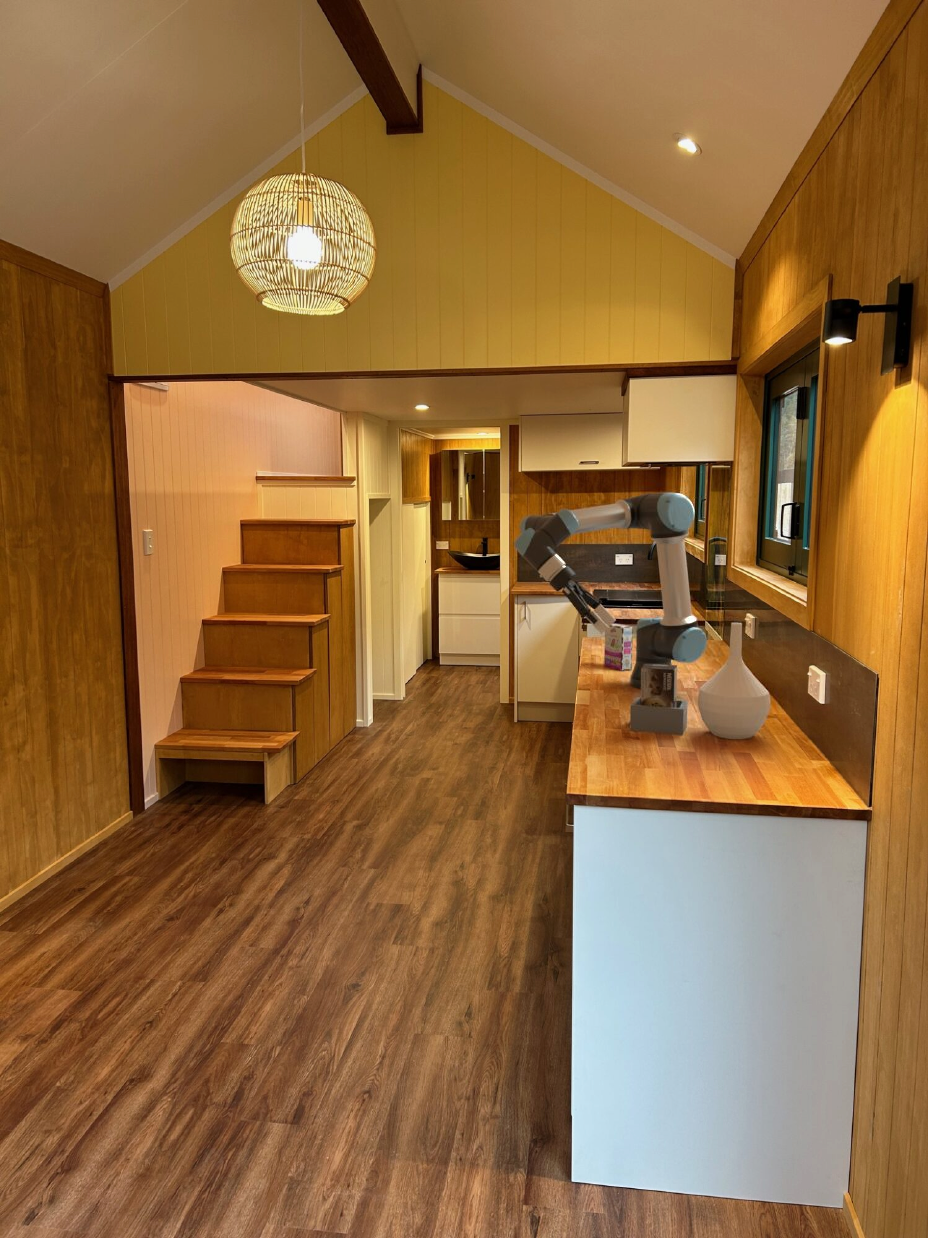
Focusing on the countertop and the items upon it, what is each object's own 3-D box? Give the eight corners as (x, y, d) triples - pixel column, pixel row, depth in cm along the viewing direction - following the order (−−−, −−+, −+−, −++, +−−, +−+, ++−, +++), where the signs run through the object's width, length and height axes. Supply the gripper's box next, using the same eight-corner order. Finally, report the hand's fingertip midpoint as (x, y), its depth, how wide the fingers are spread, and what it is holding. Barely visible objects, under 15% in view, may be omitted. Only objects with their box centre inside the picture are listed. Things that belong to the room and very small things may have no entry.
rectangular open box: (636, 721, 241) (636, 696, 240) (686, 725, 237) (687, 700, 236) (630, 730, 231) (630, 705, 230) (682, 735, 226) (683, 709, 226)
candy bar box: (632, 670, 316) (633, 626, 314) (621, 671, 314) (622, 627, 312) (614, 665, 326) (615, 622, 324) (603, 666, 324) (604, 623, 322)
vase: (745, 724, 238) (749, 617, 234) (783, 742, 220) (788, 627, 216) (684, 728, 234) (687, 619, 230) (717, 746, 216) (722, 629, 212)
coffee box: (676, 722, 236) (678, 664, 233) (673, 728, 230) (675, 669, 227) (643, 719, 239) (644, 662, 237) (639, 725, 233) (640, 667, 231)
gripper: (557, 578, 260) (606, 629, 258) (538, 587, 237) (592, 642, 234) (575, 561, 258) (624, 612, 255) (557, 568, 235) (611, 624, 232)
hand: (609, 627), depth 245 cm, fingers open, 13 cm apart
